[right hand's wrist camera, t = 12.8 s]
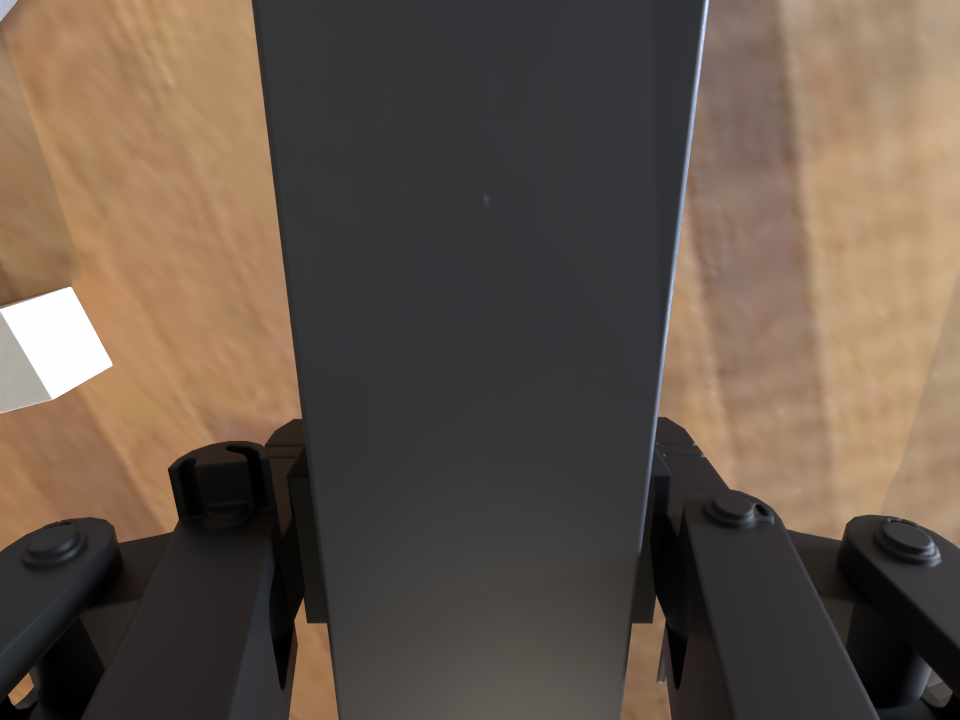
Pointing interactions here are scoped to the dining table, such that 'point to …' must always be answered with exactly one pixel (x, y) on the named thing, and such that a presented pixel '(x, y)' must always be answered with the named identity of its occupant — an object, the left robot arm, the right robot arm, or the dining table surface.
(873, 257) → the dining table surface
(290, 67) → the bar
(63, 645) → the right robot arm
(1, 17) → the hard drive box
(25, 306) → the cube
